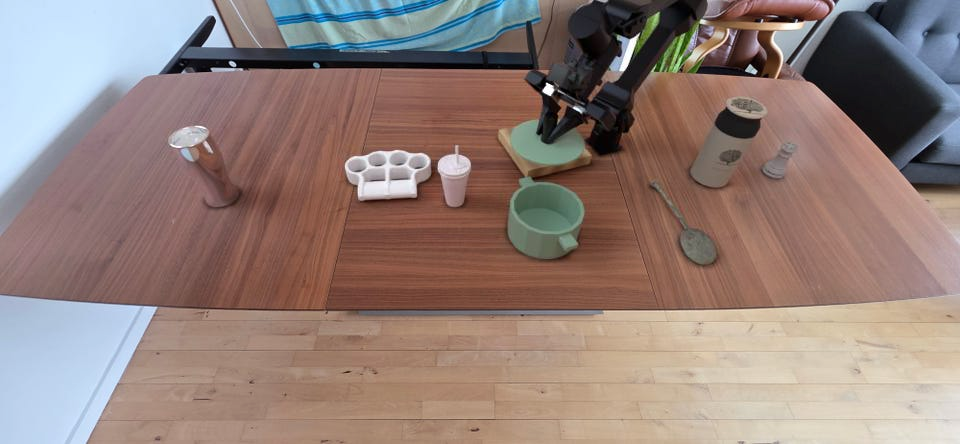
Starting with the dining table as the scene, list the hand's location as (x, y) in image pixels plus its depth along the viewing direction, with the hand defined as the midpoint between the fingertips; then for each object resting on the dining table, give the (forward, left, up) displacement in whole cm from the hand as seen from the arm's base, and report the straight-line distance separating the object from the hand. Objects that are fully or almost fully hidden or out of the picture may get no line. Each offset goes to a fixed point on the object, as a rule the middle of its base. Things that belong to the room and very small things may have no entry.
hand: (543, 138), depth 82 cm
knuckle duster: (+28, -14, -14) cm, 34 cm away
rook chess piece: (-54, +13, -14) cm, 57 cm away
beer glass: (+61, -20, -14) cm, 65 cm away
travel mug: (-39, +9, -14) cm, 42 cm away
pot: (+4, +11, -13) cm, 18 cm away
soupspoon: (-23, +18, -14) cm, 32 cm away
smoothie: (+17, -3, -14) cm, 22 cm away
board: (-8, -12, -13) cm, 20 cm away
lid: (-1, 0, -2) cm, 2 cm away
